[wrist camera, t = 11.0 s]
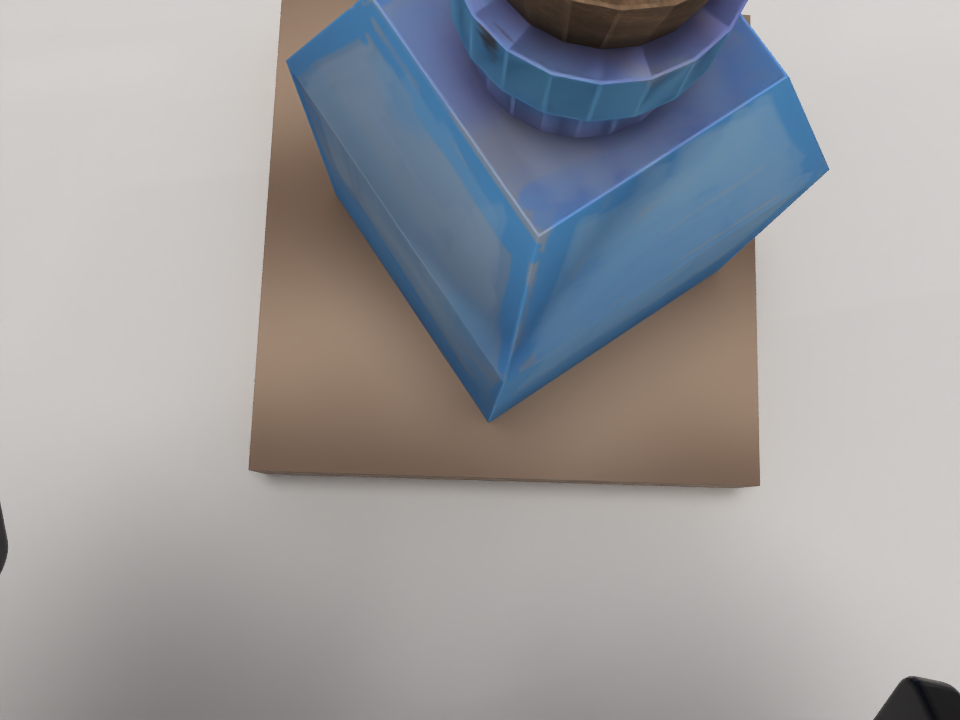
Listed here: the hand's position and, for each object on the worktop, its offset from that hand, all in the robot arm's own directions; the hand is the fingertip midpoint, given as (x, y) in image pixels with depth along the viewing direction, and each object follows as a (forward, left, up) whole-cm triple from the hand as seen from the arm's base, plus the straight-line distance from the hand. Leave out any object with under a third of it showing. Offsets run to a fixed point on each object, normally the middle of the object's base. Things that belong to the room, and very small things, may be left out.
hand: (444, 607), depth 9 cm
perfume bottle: (+7, -2, -11) cm, 13 cm away
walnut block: (+7, -1, -13) cm, 15 cm away
